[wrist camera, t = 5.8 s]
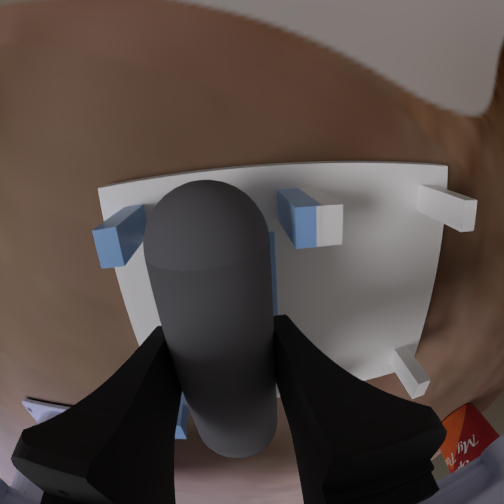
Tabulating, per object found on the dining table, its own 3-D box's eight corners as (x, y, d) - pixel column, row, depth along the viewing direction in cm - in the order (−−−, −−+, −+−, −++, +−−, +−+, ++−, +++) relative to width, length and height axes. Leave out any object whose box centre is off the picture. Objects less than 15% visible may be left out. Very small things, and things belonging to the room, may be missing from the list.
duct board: (403, 357, 16) (432, 399, 12) (165, 392, 15) (156, 446, 12) (435, 163, 12) (493, 177, 8) (107, 184, 11) (59, 206, 7)
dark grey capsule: (274, 411, 14) (280, 467, 10) (207, 414, 14) (201, 469, 10) (261, 168, 9) (271, 184, 6) (155, 179, 9) (110, 202, 6)
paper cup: (435, 415, 20) (493, 518, 7) (488, 385, 20) (548, 469, 7) (417, 450, 23) (458, 536, 10) (466, 423, 23) (511, 498, 10)
